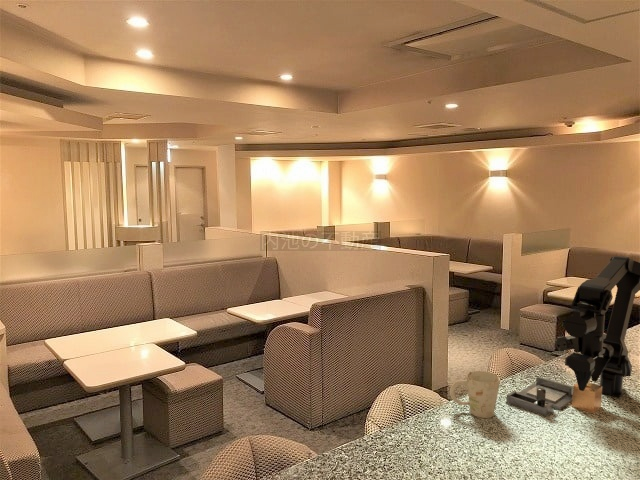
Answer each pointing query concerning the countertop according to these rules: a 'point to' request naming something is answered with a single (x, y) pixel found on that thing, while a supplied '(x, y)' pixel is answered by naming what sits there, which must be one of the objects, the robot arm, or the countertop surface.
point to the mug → (479, 393)
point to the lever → (540, 397)
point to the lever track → (528, 403)
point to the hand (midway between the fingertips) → (588, 385)
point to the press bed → (551, 392)
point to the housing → (587, 397)
